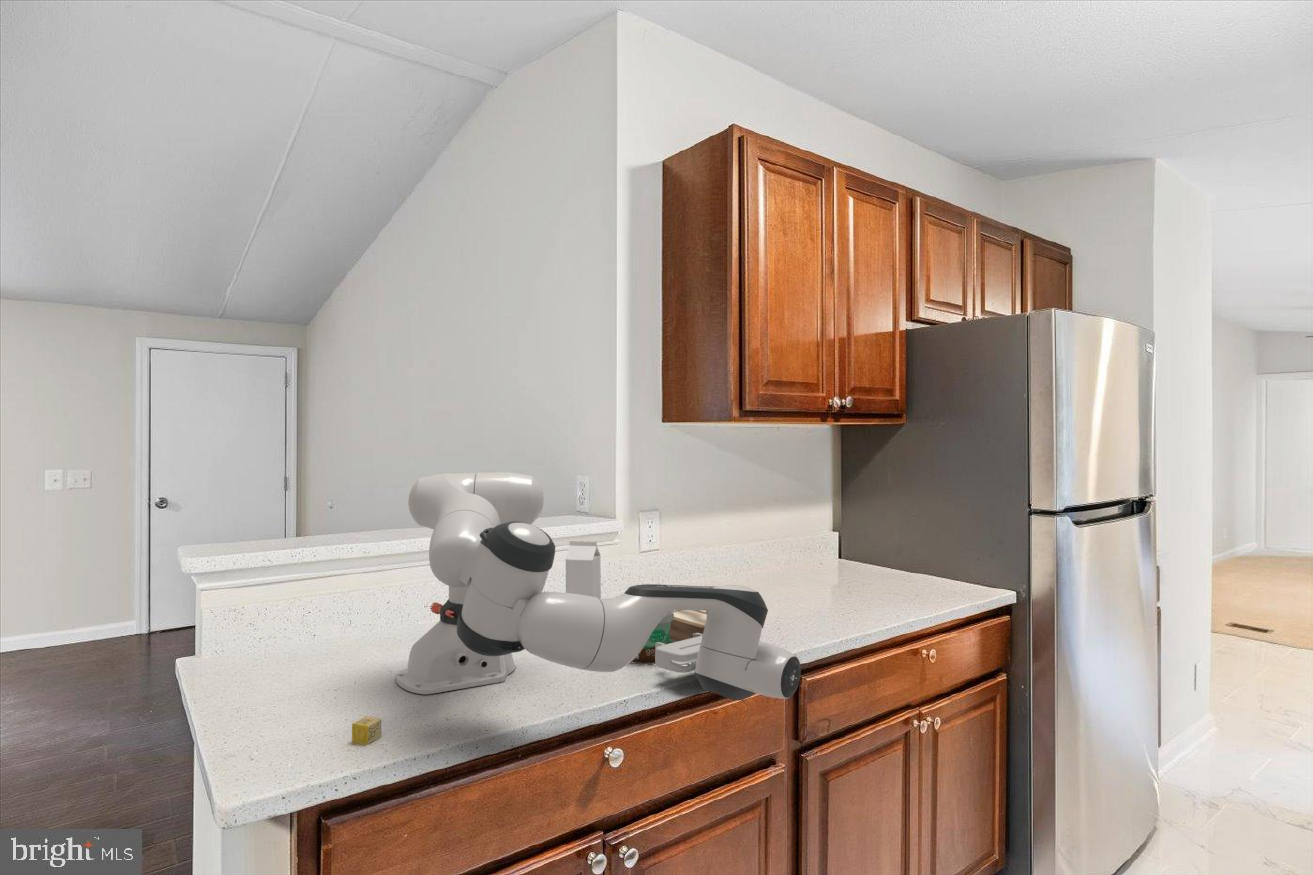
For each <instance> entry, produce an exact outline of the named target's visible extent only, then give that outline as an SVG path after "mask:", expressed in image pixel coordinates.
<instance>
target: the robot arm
mask: <svg viewBox="0 0 1313 875" xmlns="http://www.w3.org/2000/svg"><path fill="white" fill-rule="evenodd" d="M541 486H542V485H541V484H540V483H539V481H538V480H537V479H536V478H535V477H534V476H533V475H529V474H524V473H518V472H511V471H508V472H507V471H501V472H500V471H499V472H497V471H494V472H493V471H492V472H491V471H490V472H489V471H487V472H485V471H483V472H443V473H436V474H432V475H427V476H423V477H419V478H418V479H416V481H415V482H414V484H413V485H412V487H411V488H410V492H409V495H408V503H407V504H408V510H409V513H410V516H411V517H412V518H413V520H414V521H415V523H416V524H417V525H419V526H421V527H423V528H424V527H425V528H428V529H431V530H433V531H432V533H431V537H430V543H429V549H428V559H429V562H428V563H429V566H430V570H431V572H432V574H433V575H434V577H435V578H436V579H437V580H438V581H439V582H440V583H442V584H445V585H447V586H448V598H447V600H446V602H445V603H444V604H441V603H439V602H436V601H435V602H432V603H431V605H430V606H429V607H430V608H429V610H430V612H431V613H433V614H435V615H439V621H438V622H436V624H435V625H433V626H432V628H430V629H429V630H428V631H427V632H426V633H424V634H423V636H421V637H420V638H419V639H418V640H416V641H415V643H413V645H412V646H411V649H410V651H409V655H408V663H407V668H405V669H401V670H398V671H397V672H396V674H395V682H396V684H397V685H398V686H399V687H401V688H402V689H403V690H406V691H407V692H411V693H413V694H417V695H418V694H419V695H433V694H438V693H443V692H448V691H450V692H451V691H455V690H461V689H467V688H468V689H469V688H473V687H474V688H475V687H479V686H483V685H484V686H485V685H490V684H496V683H502V682H505V680H506V679H507V676H508V675H509V674H511V673H513V671H514V670H515V669H516V663H515V661H514V657H513V653H519V652H522V651H524V650H526V651H527V652H528V653H530V654H531V655H534V656H535V657H538V658H541V659H544V660H546V661H549V662H551V663H555V664H558V665H562V666H565V667H568V668H569V667H570V668H574V669H578V670H583V671H590V672H597V673H598V672H599V673H613V672H616V671H619V670H621V669H623V668H624V667H626V666H628V665H629V664H631V662H632V661H633V660H634V659H635V658H636V656H637V655H638V654H639V653H640V652H641V650H642V649H643V647H644V646H645V644H646V642H647V640H648V639H649V637H650V635H651V634H652V632H653V630H654V629H655V628H656V626H657V625H658V623H659V622H660V621H661V620H662V619H663V618H664V617H665V616H666V615H667V614H668V613H670V612H672V611H676V610H699V611H703V612H706V613H707V618H706V623H705V627H704V632H703V634H700V633H694V634H691V638H690V639H686V640H682V641H678V642H674V643H670V644H667V642H663V641H660V642H656V643H655V662H654V663H655V666H656V667H658V668H660V669H662V670H663V669H664V670H667V671H671V672H676V673H690V672H694V675H695V678H696V679H697V681H698V683H699V684H700V686H701V688H702V689H704V690H705V691H707V692H711V693H714V694H716V695H719V696H722V697H724V698H726V699H730V700H732V701H744V700H746V699H749V698H750V697H752V696H754V695H755V694H757V695H761V696H765V697H768V698H774V699H780V700H781V699H782V700H788V699H790V698H791V697H792V696H793V695H794V694H795V693H796V691H797V689H798V687H799V682H800V678H801V673H802V672H801V669H802V668H801V662H800V659H799V658H798V656H797V655H795V654H793V653H792V652H791V651H787V650H786V649H783V648H781V647H780V646H777V645H774V644H771V643H767V642H765V641H761V635H762V629H764V625H765V623H766V619H767V615H768V612H769V608H768V607H767V604H766V602H765V600H764V599H763V597H762V595H761V594H760V592H759V591H756V590H755V589H754V588H751V587H748V586H745V585H740V584H727V585H726V584H725V585H721V586H713V585H712V586H707V585H706V586H705V585H704V586H703V585H684V584H683V585H682V584H681V585H680V584H654V583H653V584H651V583H650V584H649V583H647V584H645V583H644V584H636V585H631V586H629V587H628V588H627V589H626V590H625V591H624V593H622V594H619V595H618V596H614V597H610V598H602V597H601V598H596V597H592V596H587V595H581V594H574V593H566V592H563V591H562V592H560V591H559V592H558V591H549V592H548V591H544V588H545V586H546V585H545V584H546V581H547V579H548V575H549V571H550V570H551V569H553V565H554V561H555V555H556V544H555V542H554V541H553V539H552V538H551V536H550V535H549V534H548V533H547V532H546V531H544V530H543V529H541V528H539V527H538V526H535V525H533V524H534V522H535V521H537V519H538V518H539V517H540V514H542V511H543V508H544V503H545V498H544V497H545V496H544V492H543V488H542V487H541Z"/></svg>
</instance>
